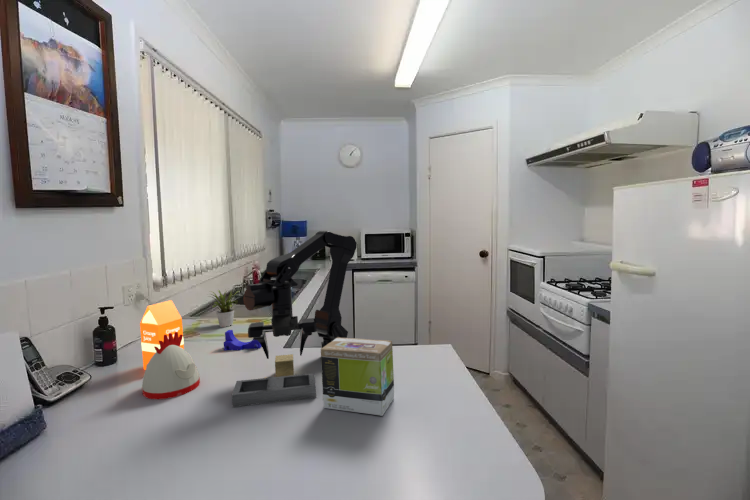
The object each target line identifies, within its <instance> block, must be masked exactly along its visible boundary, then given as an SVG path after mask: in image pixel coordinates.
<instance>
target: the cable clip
mask: <svg viewBox="0 0 750 500" xmlns="http://www.w3.org/2000/svg"><path fill="white" fill-rule="evenodd" d="M224 337H225V338H224V341H223V351H242V350H246V349H248V350H249V349H250V350H251V349H252V350H253V349H254V350H258V349H261V348H262V346H261V344H260V343H259V342H258V340H254V339H253V338H252V340H250V341H241V340H239V339H238V338H237V337H236V336H235V335H234V330H233V329H227V330H226V331H225V332H224Z"/></svg>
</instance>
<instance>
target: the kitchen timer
mask: <svg viewBox="0 0 750 500" xmlns="http://www.w3.org/2000/svg"><path fill="white" fill-rule="evenodd" d="M182 337H183V338H184V334H183V335H181V334H180V336H179V337H178V332H175V334H174V339H173V336H172V333H169V339H168V337H167V335H164V341H163V342H162V341H160V340H159V344H160V349H159V348H158V347H155V346H154V348H155V350H156V353H155V354H154V355H153V357H152V358H151V359H150V361H149V363H148V364H147V365H146V370H144V375H143V377H142V378H143V379H142V384H141V388H142V395H143V397H144V398H147V399H151V400H166V399H172V398H176V397H179V396H183V395H185V394H188V393H191V392H192V391H194V390H196V389H197V388H198V387H199V386H200V384H201V381H200V377H201V376H200V373H199V371H198V368H197V366H196V363H195V361H194V359H193V357H192V356H191V354H190V353H189V352H188V351H187V350H186V349H185V348H184V349H183V348H181V347H180V344H181V341H182Z"/></svg>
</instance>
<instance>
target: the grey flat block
mask: <svg viewBox="0 0 750 500" xmlns="http://www.w3.org/2000/svg"><path fill="white" fill-rule="evenodd" d="M315 377H316V376H315V372H312V373H311V372H310V373H302V374H301V373H300V374H294V375H290V376H280V377H276V376H273V377H270V376H269V377H262V378H253V379H245V380H244V379H243V380H237V381H236V382H235V385H234V387H233V391H232V394H231V403H232V408H237V407H245V406H254V405H264V404H271V403H280V402H289V401H296V400H305V399H316V398H317V384H316V378H315Z"/></svg>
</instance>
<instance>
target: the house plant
mask: <svg viewBox="0 0 750 500" xmlns="http://www.w3.org/2000/svg"><path fill="white" fill-rule="evenodd" d="M227 291H228V290H225V291H224V294H222V293H221V291H220V290H219V289H218V290H217V292H218V294H219V296H218V295H217V294H216V293H215V292H214V291H211V290H210V292H211V293H210V295H212V296H210V295H209V296H207V297H209V298H212V299H214V302H213V304H211V305H212V309H215V308H217V309H218V310H217V311H216V316H217V321H218V324H219V327H220V326H221V327H220V328H227V327H226V326H229V327H231V326H230V325H232V324H234V317H235V316H234V315H235V309H233V304H234V305H236V304H237V300H233V298H234V297H235V296H236V294H237V293H239V292H240V290H237V291H236V292H235V293H232V291H230V293H229V295H228V297H227V299H226V292H227ZM213 296H214V297H213ZM232 300H233V301H232ZM232 326H233V325H232Z"/></svg>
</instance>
